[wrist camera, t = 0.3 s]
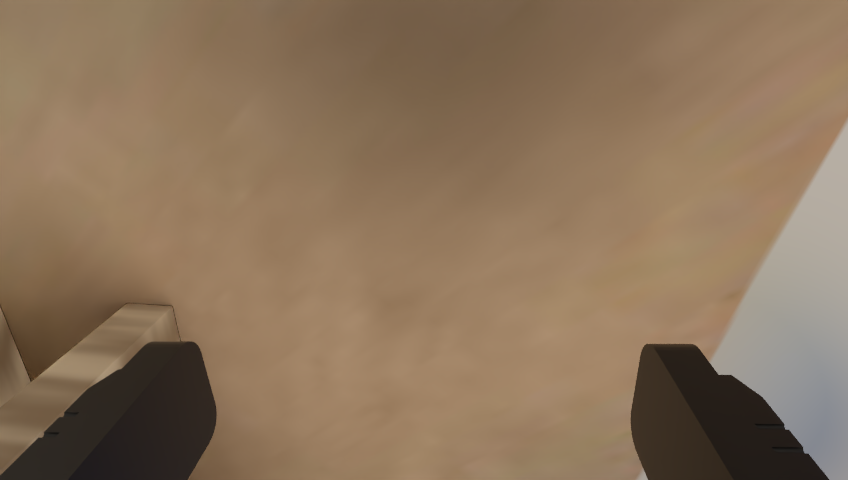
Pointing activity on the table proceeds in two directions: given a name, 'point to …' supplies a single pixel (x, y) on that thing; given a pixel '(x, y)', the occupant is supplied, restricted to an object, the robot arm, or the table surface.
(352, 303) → the table surface
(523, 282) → the table surface
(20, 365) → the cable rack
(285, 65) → the table surface
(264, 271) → the table surface
